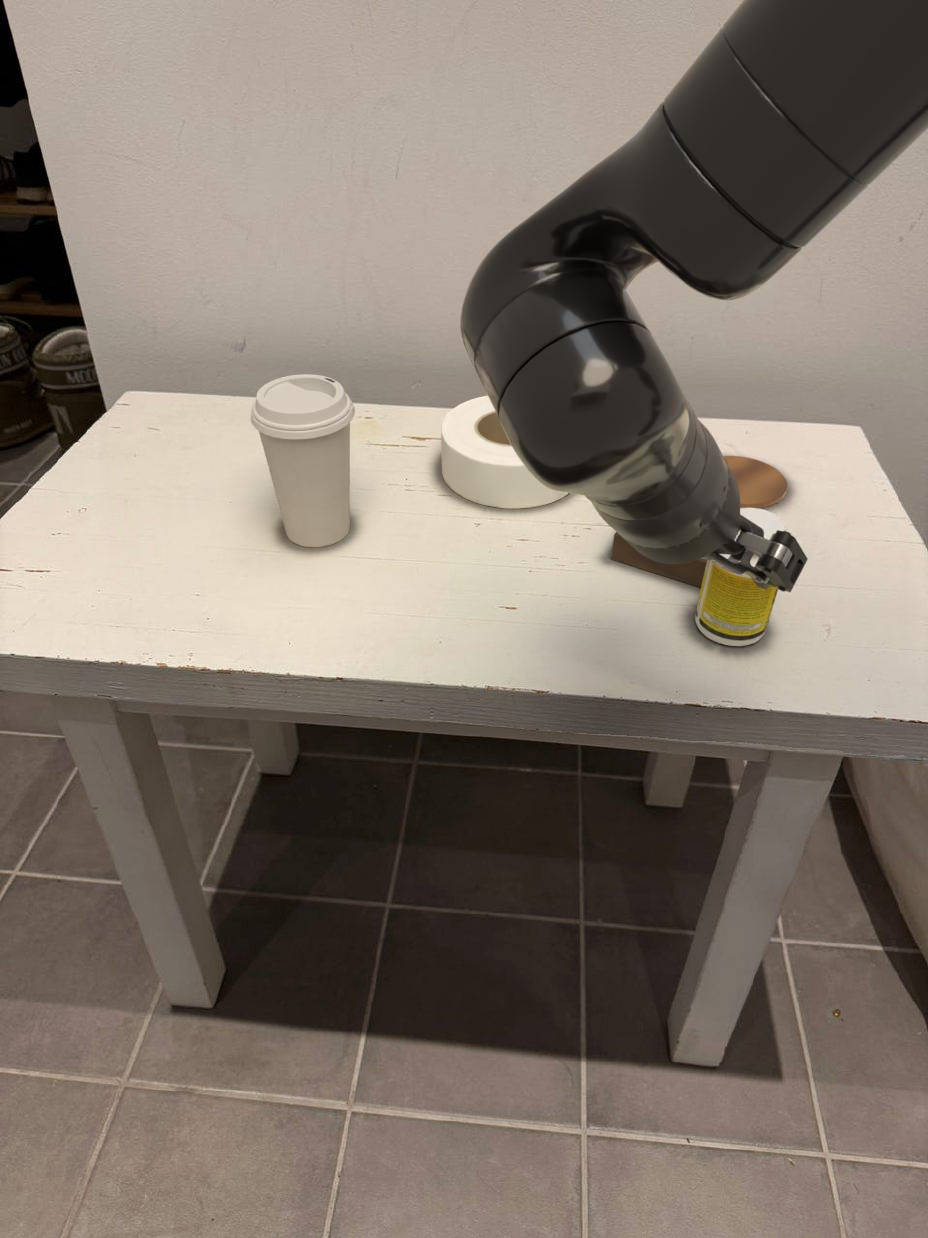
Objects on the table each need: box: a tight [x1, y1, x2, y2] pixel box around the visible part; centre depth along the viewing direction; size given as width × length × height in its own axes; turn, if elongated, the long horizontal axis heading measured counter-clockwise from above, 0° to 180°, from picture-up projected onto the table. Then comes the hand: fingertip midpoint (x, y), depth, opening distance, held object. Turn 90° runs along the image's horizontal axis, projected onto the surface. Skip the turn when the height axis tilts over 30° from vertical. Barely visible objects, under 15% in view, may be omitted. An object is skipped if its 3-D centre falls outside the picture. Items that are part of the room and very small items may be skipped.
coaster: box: [723, 455, 788, 509], centre depth 95 cm, size 10×10×1 cm
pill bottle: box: [694, 508, 787, 647], centre depth 74 cm, size 6×6×11 cm
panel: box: [610, 531, 707, 588], centre depth 85 cm, size 12×10×3 cm
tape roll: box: [440, 395, 569, 510], centre depth 95 cm, size 16×16×6 cm
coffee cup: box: [250, 373, 356, 548], centre depth 84 cm, size 10×10×15 cm
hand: (715, 553), depth 65 cm, fingers open, 8 cm apart
